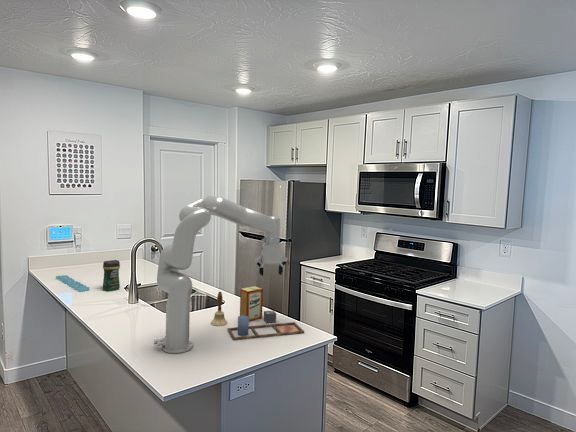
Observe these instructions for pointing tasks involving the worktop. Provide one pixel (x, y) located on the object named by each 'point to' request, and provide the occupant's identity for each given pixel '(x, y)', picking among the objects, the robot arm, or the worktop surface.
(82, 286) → the letter sign
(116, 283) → the coffee jar
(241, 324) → the blue cylinder
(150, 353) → the worktop surface
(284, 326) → the board
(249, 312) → the baking soda box
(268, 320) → the die
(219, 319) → the hand bell
